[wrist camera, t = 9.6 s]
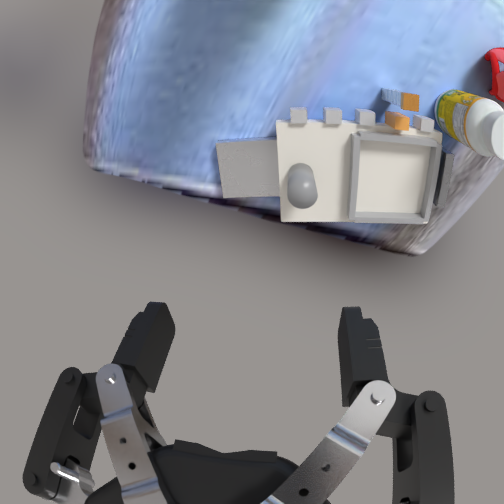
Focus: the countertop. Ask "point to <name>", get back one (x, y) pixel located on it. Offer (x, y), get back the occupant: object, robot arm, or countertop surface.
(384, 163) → the toothed carriage
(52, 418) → the robot arm
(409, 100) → the index track
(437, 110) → the supplement bottle
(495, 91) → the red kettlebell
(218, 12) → the countertop surface
